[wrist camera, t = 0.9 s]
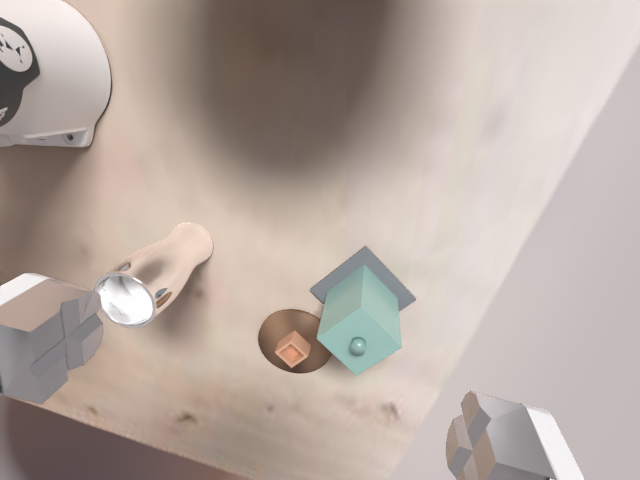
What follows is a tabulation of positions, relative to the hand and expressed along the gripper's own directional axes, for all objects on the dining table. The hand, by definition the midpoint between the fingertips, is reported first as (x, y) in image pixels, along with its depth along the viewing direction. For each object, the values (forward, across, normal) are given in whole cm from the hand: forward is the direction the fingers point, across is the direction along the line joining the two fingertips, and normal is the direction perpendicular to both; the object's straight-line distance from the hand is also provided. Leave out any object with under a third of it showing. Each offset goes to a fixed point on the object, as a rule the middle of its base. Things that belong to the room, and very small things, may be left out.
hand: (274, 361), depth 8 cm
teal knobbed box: (+37, +5, -20) cm, 43 cm away
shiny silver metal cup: (+38, -19, -19) cm, 46 cm away
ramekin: (+37, -2, -31) cm, 48 cm away
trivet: (+37, -2, -31) cm, 49 cm away
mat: (+38, +5, -20) cm, 43 cm away
